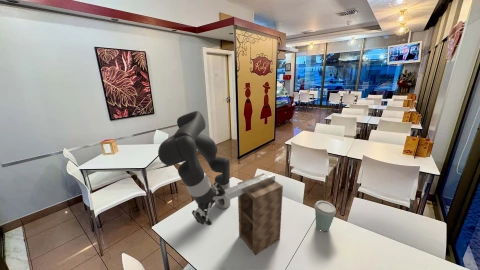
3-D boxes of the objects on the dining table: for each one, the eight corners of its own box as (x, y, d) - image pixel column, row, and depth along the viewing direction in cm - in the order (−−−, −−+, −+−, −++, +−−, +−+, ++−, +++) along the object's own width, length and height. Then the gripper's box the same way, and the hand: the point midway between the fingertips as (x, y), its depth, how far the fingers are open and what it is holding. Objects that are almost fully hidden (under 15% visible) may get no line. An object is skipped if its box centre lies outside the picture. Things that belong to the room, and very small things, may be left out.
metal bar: (228, 199, 82) (228, 193, 81) (224, 195, 84) (224, 189, 83) (275, 180, 95) (275, 175, 94) (270, 177, 98) (270, 172, 97)
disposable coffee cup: (329, 221, 112) (332, 199, 107) (336, 236, 102) (340, 213, 97) (310, 220, 113) (312, 198, 108) (315, 235, 103) (318, 211, 98)
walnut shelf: (255, 255, 92) (255, 197, 83) (239, 235, 104) (237, 183, 94) (279, 239, 101) (282, 185, 91) (262, 223, 112) (263, 173, 102)
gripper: (194, 208, 59) (212, 234, 68) (220, 173, 68) (234, 201, 77) (178, 200, 63) (197, 226, 72) (204, 169, 72) (219, 195, 81)
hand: (216, 213), depth 74 cm, fingers open, 8 cm apart
